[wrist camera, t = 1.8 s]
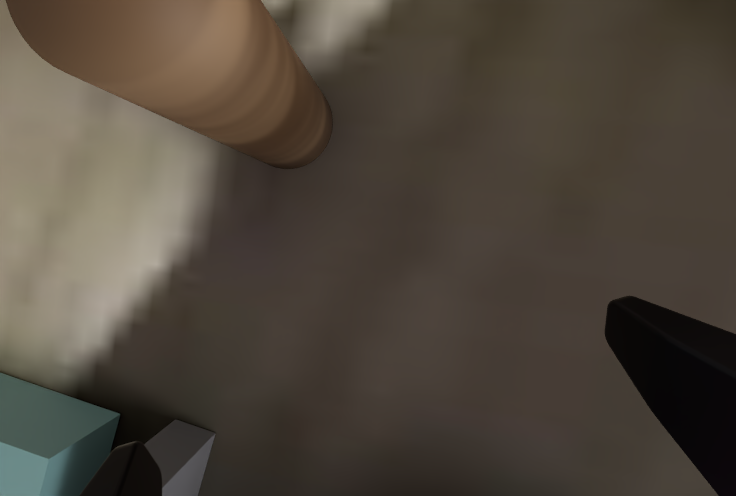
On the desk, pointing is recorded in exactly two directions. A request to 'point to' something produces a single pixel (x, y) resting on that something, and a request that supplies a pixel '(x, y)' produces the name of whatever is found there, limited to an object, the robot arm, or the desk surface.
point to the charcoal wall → (181, 457)
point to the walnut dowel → (190, 68)
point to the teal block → (50, 440)
